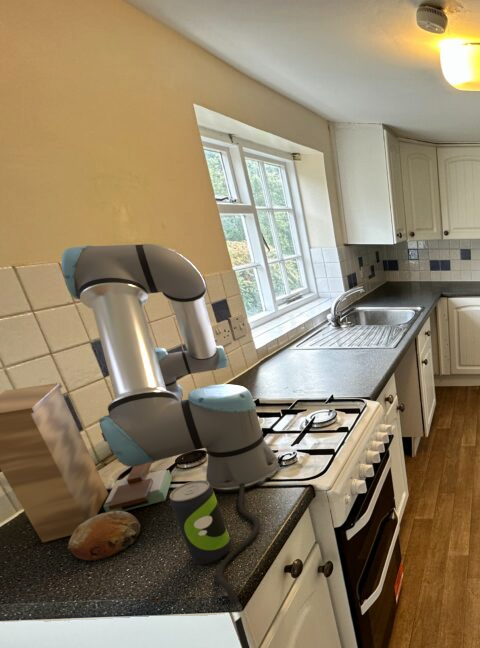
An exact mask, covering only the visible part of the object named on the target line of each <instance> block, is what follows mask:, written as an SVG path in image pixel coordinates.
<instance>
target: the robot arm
mask: <svg viewBox="0 0 480 648" xmlns="http://www.w3.org/2000/svg"><path fill="white" fill-rule="evenodd" d="M61 269H62V270H61V272H62V275H63V277H64V282H65V286H66V288H67V290H68V292H69V294H70V296H71V297H72V298H74V299H76V300H80V302H81V303H82V305H84V306H85V307H87V308H89V309H91V310H92V312H93V317H94V319H95V324H96V328H97V332H98V336H99V340H100V344H101V348H102V352H103V356H104V360H105V364H106V368H107V371H108V375H109V379H110V383H111V387H112V391H113V394H114V399H113V400H112V401H110V403H108V405H107V413H108V415H104V416H102V417H100V418H99V420H98V422H99V423H98V424H99V427H100V430H101V432H100V433H101V436H102V438H103V440H104V442H106V443H107V445H108V447H109V449H110V452H111V453H113V455H114V456H115V458H116V459H117V460H118V462H120V464H122V465H123V466H125V467H128V468H130V467H131V468H133V467H134V466H138V465H143V464H147V463H152V464H154V463H156V462H159V461H162V460H165V459H169V458H173V457H176V456H180V455H183V454H187V453H191V452H195V451H198V450H203V449H205V450H206V453H207V465H206V475H205V476H206V477H205V478H206V481H207V482H208V483H209V485H210V486H211V487H212V488H213V491H214V492H216V493H223V494H224V493H227V494H228V493H237V492H238V502H237V507H238V511H239V513H240V514H241V515H242V516H243V517H245V518H246V519H247V520H249V521H251V522H252V524H253V530H252V532H251V534H250V535H249V536H248V537H247V538H246V539H245V540H244V541H243V542H242V543H241V544H239V545H238V546H237V547H236V548H235V549H233V550H232V551H231V552H230V553H228V554H227V556H225V558H224V559H223V560H222V561H221V563H220V564H219V566H218V568H217V570H216V574H215V578H216V579H215V580H216V582H217V583H218V584H219V585H220V586H221V587H222V588H223V589H224V590H225V592H226V594H227V595H228V598H229V601H230V604H231V605H232V606H234V605H236V604H237V603H238V602H239V601H238V596H237V593H236V591H235V589H234V587H233V586H232V584H231V583H230V582H229V581H227V580H226V578H225V577H224V572H225V568H226V566H227V565H228V564H229V562H230V561H231V560H233V559H234V557H235V556H236V555H238V554H239V553H240V552H241V551H242V550H243V549H245V548H246V547H247V546H248V545H250V543H251V542H252V541H253V540H254V539H255V538H256V537H257V535H258V533H259V530H260V527H261V526H260V522H259V520H258V518H257V517H256V516H254V515H252V514H251V513H250V512H248V511H247V510H246V509H245V506H244V499H245V490H248V489H249V490H250V489H252V488H254V487H256V486H259V485H261V484H263V483H265V482H266V481H268V480H270V479H271V478H272V477H273V476H274V475H276V473H277V472H278V471H279V468H280V462H279V460H278V456H277V455H276V454H275V452H274V451H273V450H272V448H271V447H270V446H269V444H268V443H267V442H266V441H265V438H264V435H263V431H262V428H261V423H260V420H259V417H258V414H257V410H256V408H257V405H256V403H255V402H254V398H253V396H252V393H251V391H250V390H249V389H248V388H246V387H244V386H241V385H237V384H222V383H221V384H210V385H205V386H200V388H195V389H193V390H191V391H190V392H189V393H188V396H187V399H183V396H184V392H183V388H182V386H181V385H180V384H179V383H178V382H177V379H176V378H178V377H182V376H188V375H193V374H199V373H205V372H211V371H217V370H220V369H224V368H227V367H228V366H229V362H228V359H227V354H226V351H225V348H224V347H223V346H222V345H217V342H216V340H215V336H214V332H213V327H212V324H211V320H210V316H209V312H208V308H207V305H206V304H207V303H206V300H205V296H206V293H207V287H206V283H205V280H204V278H203V276H202V275H201V273H200V271H199V270H198V269H197V267H195V265H194V264H193V263H192V262H191V261H190V260H189V259H187V258H186V257H184V255H182V254H180V253H178V252H176V251H175V250H173V249H171V248H169V247H166V246H164V245H159V244H155V243H154V244H153V243H142V244H115V245H114V244H113V245H91V244H87V245H83V246H73V247H69V248H67V249H65V250H64V251H63V253H62V255H61ZM158 293H162V295H163V296H164V297H165V298H166V299H168V300H169V303H170V305H171V308H172V311H173V313H174V317H175V319H176V322H177V325H178V328H179V332H180V334H181V336H182V339H183V342H184V346H185V348H186V350H182V351H176V352H170V353H168V352H167V349H165V348H163V347H155V345H154V341H153V338H152V335H151V331H150V327H149V324H148V319H147V316H146V312H145V309H144V306H145V305H146V304H147V303H148V301H149V294H158ZM155 348H156V349H155ZM278 462H279V463H278ZM234 624H235V629H236V631H237V635H238V638H239V642H240V645H241V648H251V647H250V643H249V640H248V637H247V634H246V630H245V627H244V623H243V619H242V616H240V617H238V618H237V619H236V620H235V621H234Z"/></svg>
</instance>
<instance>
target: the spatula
mask: <svg viewBox="0 0 480 648" xmlns="http://www.w3.org/2000/svg"><path fill="white" fill-rule="evenodd" d="M152 464H153V463H147V464H143V465H138V466H134V467H131V470H130V473H129V475H128V476H127V478H128V479H127V482H128V484H126V485H121V486H118V488H117V490H116V492H115V494H114V496H113V498H112V500H111V502H110V504H109V506H108V507H109V509H110V510H112V509H116V508H120V507H124V506H128V505H132V504H136V503H139V502H143V501H146V500H147V498H148V495H149V492H150V489H151V487H152V484H153V479H152V478H151V479H147V480H145V479H146V477H147V474H148V473H150V469H151V467H152Z"/></svg>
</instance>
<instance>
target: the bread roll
mask: <svg viewBox="0 0 480 648" xmlns="http://www.w3.org/2000/svg"><path fill="white" fill-rule="evenodd" d="M140 531H141V524H140V522H139V520H138V519H137V518H136V516H135V515H133V514H132V513H130V512H127V511H111V512H106V511H105V512H102V513H98V515H96V516H94V517H92V518H90V519H88V520H86V521H85V522H83V523H82V524H80V525H79V526H78V527H77V528H76V529H75V531H74V532H73V534H72V535H70V538H69V540H68V549H69V550H70V551H71V553H72V555H73V556H74V557H75V558H77V559H80V560H83V561H96V560H102V559H105V558H109V557H111V556H113V555H115V554H117V553H119V552H120V551H123V550H125V549H127V548H128V547H129V546H130V545H132V544H133V543H134V542H135V541H136V539H137V538H138V536H139V534H140Z"/></svg>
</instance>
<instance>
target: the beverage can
mask: <svg viewBox="0 0 480 648" xmlns="http://www.w3.org/2000/svg"><path fill="white" fill-rule="evenodd" d="M169 504H170V507H171V510H172V512H173V514H174V516H175V519H176V522H177V524H178V527H179V529H180V532H181V535H182V537H183V539H184V542H185V544H186V547H187V549H188V552H189V555H190V557H191V560H192V561H193V563H195V564H199V565H209V564H210V565H211V564H213V563H216V562H218V561H220V560H222V559H223V558H224V557H226V555H228V554H229V552H230V550H231V548H232V541H231V538H230V534H229V532H228V529H227V526H226V523H225V520H224V518H223V514H222V512H221V508H220V505H219V503H218V500H217V497H216V494H215V491H213V488H212V487H211V486H210V485H209V483H208V482H207V480H202V479H201V480H193V481H189V482H186V483H184V484H181V485H179V486H177V487H176V488H174V489H173V490H172V491H171V492H170V494H169Z"/></svg>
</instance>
